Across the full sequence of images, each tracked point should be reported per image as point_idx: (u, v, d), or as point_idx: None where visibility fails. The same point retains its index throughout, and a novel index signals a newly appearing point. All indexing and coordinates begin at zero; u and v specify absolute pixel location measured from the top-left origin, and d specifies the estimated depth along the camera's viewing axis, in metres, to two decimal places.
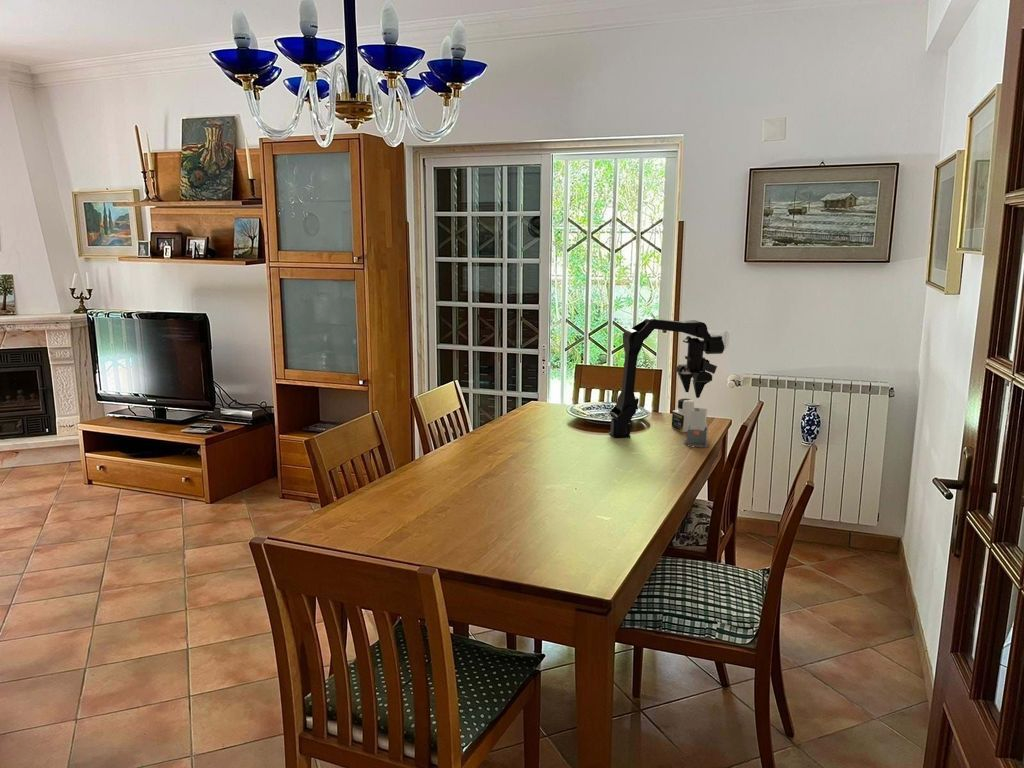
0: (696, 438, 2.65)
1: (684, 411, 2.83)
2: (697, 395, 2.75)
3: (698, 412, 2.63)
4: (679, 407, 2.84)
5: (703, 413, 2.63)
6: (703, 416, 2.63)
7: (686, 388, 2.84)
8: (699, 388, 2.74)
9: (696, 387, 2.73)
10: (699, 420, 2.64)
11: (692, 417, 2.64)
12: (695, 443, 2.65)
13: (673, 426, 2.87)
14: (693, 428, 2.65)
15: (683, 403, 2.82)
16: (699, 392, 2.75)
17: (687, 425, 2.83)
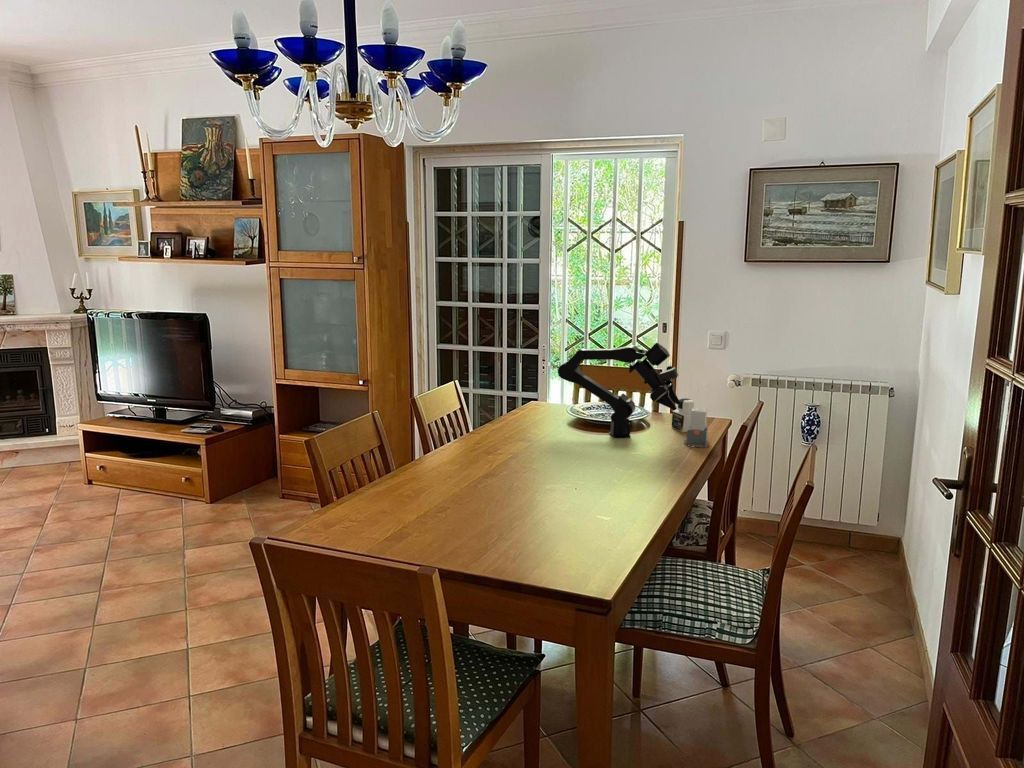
0: (696, 438, 2.65)
1: (684, 411, 2.83)
2: (672, 408, 2.63)
3: (698, 412, 2.63)
4: (679, 407, 2.84)
5: (703, 413, 2.63)
6: (703, 416, 2.63)
7: (675, 401, 2.72)
8: (667, 402, 2.63)
9: (663, 403, 2.63)
10: (699, 420, 2.64)
11: (692, 417, 2.64)
12: (695, 443, 2.65)
13: (673, 426, 2.87)
14: (693, 428, 2.65)
15: (683, 403, 2.82)
16: (671, 404, 2.63)
17: (687, 425, 2.83)
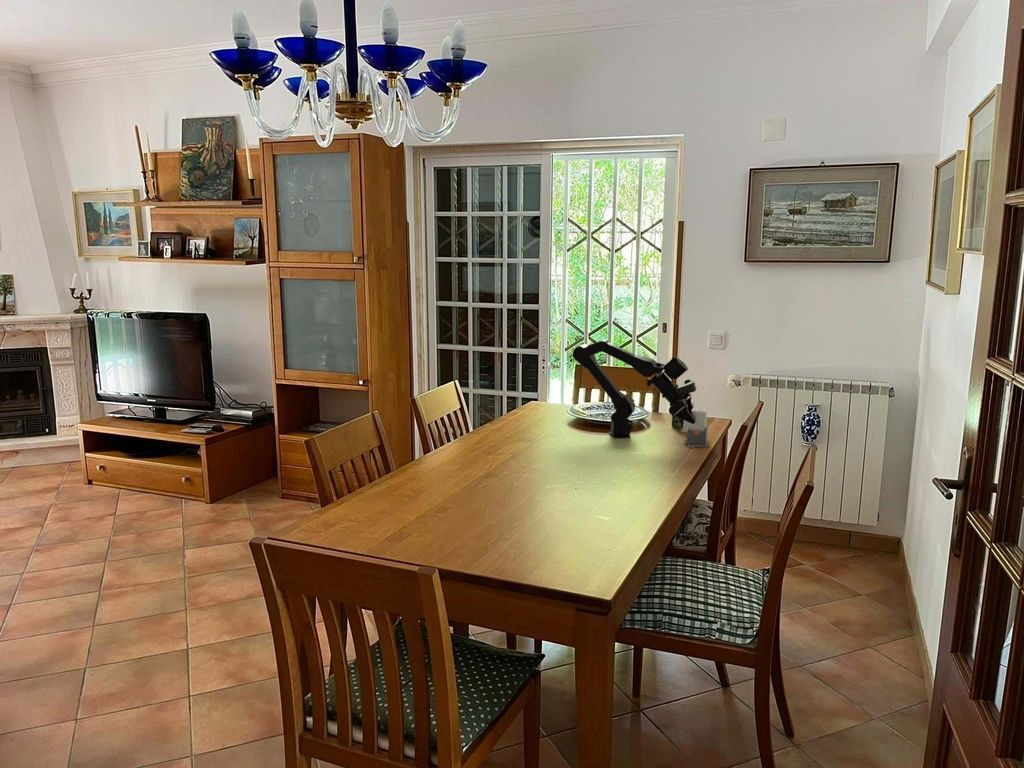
0: (696, 438, 2.65)
1: None
2: (691, 422, 2.62)
3: (698, 412, 2.63)
4: None
5: (703, 413, 2.63)
6: (703, 416, 2.63)
7: None
8: (686, 416, 2.62)
9: (682, 417, 2.62)
10: (699, 420, 2.64)
11: None
12: (695, 443, 2.65)
13: (673, 426, 2.87)
14: (693, 428, 2.65)
15: None
16: (690, 418, 2.62)
17: (687, 425, 2.83)
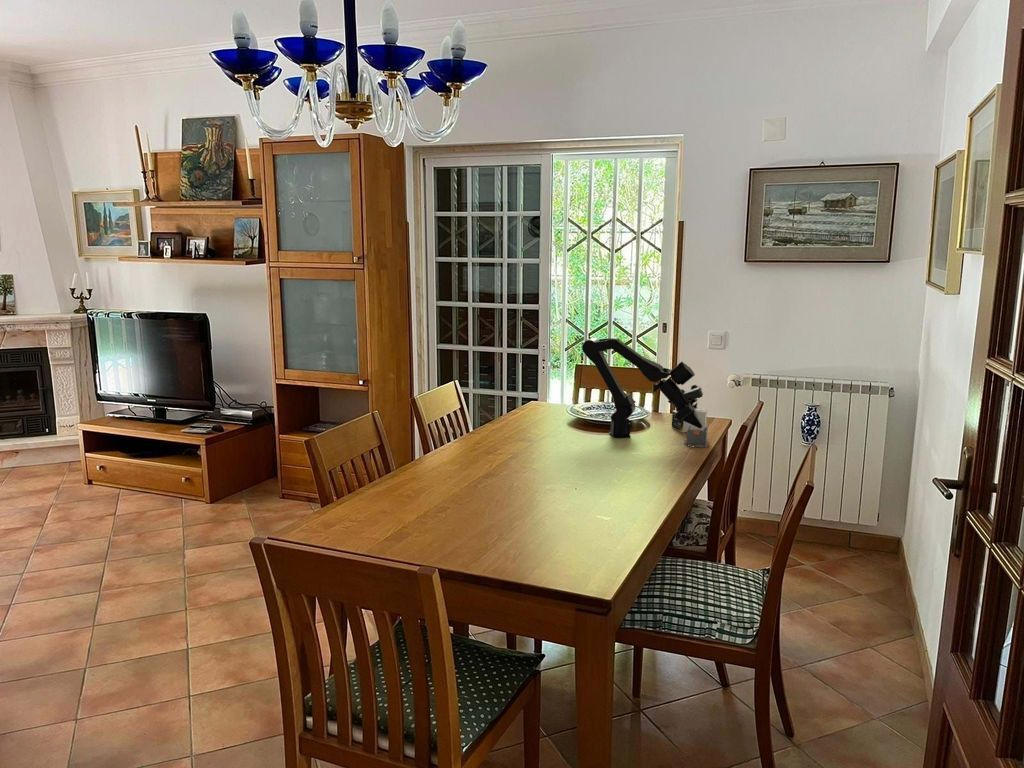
0: (696, 438, 2.65)
1: None
2: (698, 426, 2.64)
3: (698, 412, 2.63)
4: None
5: (703, 413, 2.63)
6: (703, 416, 2.63)
7: None
8: (693, 420, 2.63)
9: (689, 422, 2.63)
10: (699, 420, 2.64)
11: None
12: (695, 443, 2.65)
13: (673, 426, 2.87)
14: (693, 428, 2.65)
15: None
16: (697, 423, 2.63)
17: (687, 425, 2.83)
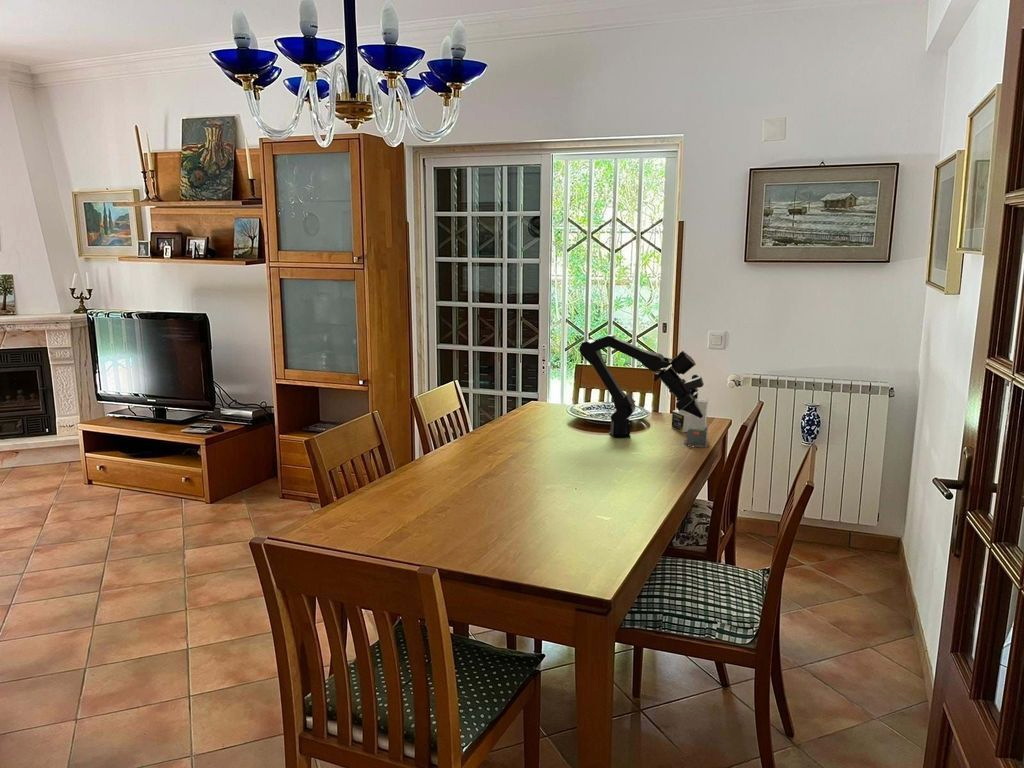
0: (696, 438, 2.65)
1: (684, 411, 2.83)
2: (698, 416, 2.63)
3: (699, 402, 2.62)
4: None
5: (704, 403, 2.62)
6: (704, 406, 2.62)
7: None
8: (693, 410, 2.62)
9: (689, 411, 2.63)
10: (700, 410, 2.63)
11: None
12: (695, 443, 2.65)
13: (673, 426, 2.87)
14: (694, 418, 2.64)
15: None
16: (697, 412, 2.62)
17: (687, 425, 2.83)
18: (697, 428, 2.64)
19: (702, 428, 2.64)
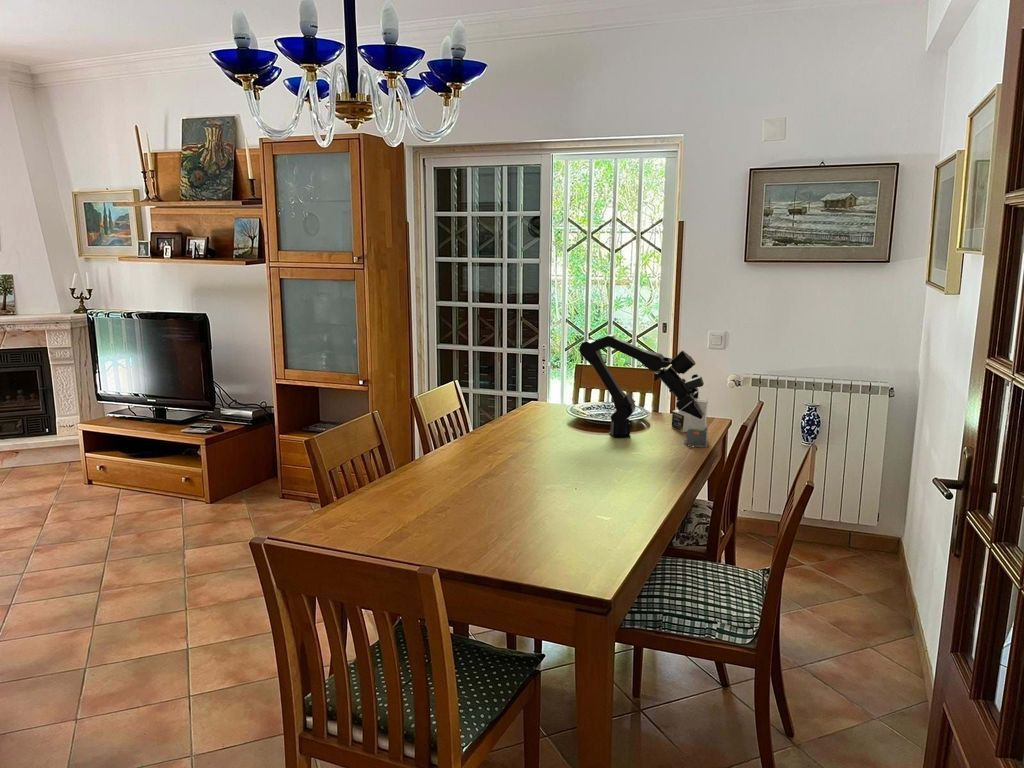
0: (696, 438, 2.65)
1: None
2: (698, 417, 2.61)
3: (699, 402, 2.62)
4: None
5: (704, 403, 2.62)
6: (704, 406, 2.62)
7: None
8: (693, 411, 2.60)
9: (689, 412, 2.61)
10: (700, 410, 2.63)
11: None
12: (695, 443, 2.65)
13: (673, 426, 2.87)
14: (694, 418, 2.64)
15: None
16: (697, 413, 2.61)
17: (687, 425, 2.83)
18: (697, 428, 2.64)
19: (702, 428, 2.64)
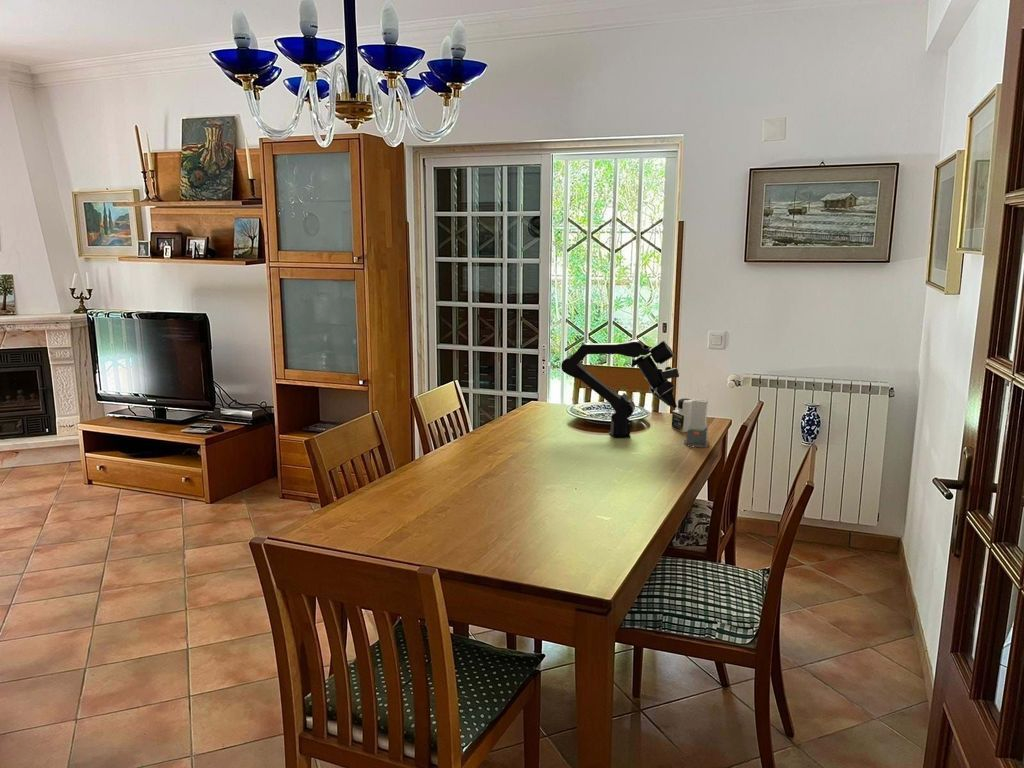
0: (696, 438, 2.65)
1: (684, 411, 2.83)
2: (673, 405, 2.64)
3: (699, 402, 2.62)
4: (679, 407, 2.84)
5: (704, 403, 2.62)
6: (704, 406, 2.62)
7: (667, 402, 2.74)
8: (670, 399, 2.64)
9: (666, 400, 2.63)
10: (700, 410, 2.63)
11: (693, 407, 2.64)
12: (695, 443, 2.65)
13: (673, 426, 2.87)
14: (694, 418, 2.64)
15: (683, 403, 2.82)
16: (673, 402, 2.64)
17: (687, 425, 2.83)
18: (697, 428, 2.64)
19: (702, 428, 2.64)
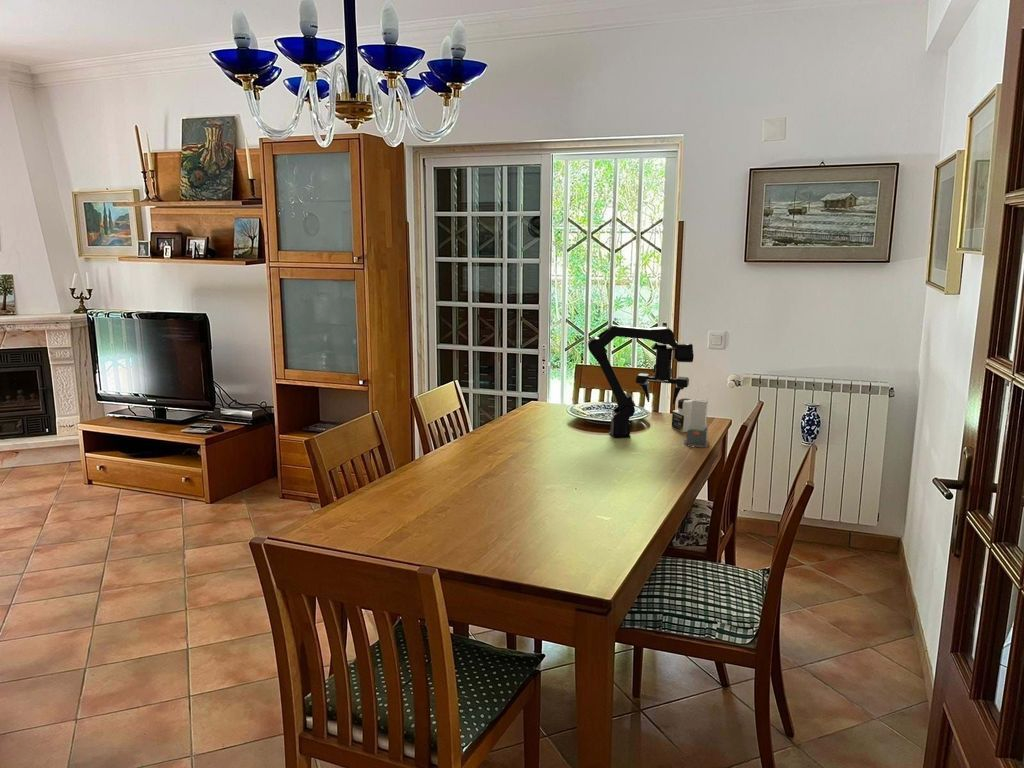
0: (696, 438, 2.65)
1: (684, 411, 2.83)
2: (674, 402, 2.72)
3: (699, 402, 2.62)
4: (679, 407, 2.84)
5: (704, 403, 2.62)
6: (704, 406, 2.62)
7: (649, 398, 2.75)
8: (677, 394, 2.71)
9: (677, 394, 2.69)
10: (700, 410, 2.63)
11: (693, 407, 2.64)
12: (695, 443, 2.65)
13: (673, 426, 2.87)
14: (694, 418, 2.64)
15: (683, 403, 2.82)
16: None
17: (687, 425, 2.83)
18: (697, 428, 2.64)
19: (702, 428, 2.64)
